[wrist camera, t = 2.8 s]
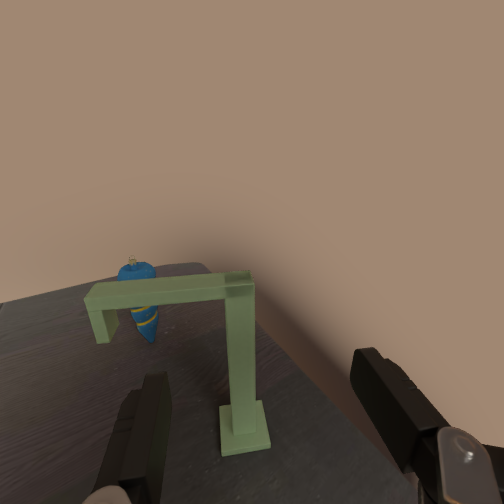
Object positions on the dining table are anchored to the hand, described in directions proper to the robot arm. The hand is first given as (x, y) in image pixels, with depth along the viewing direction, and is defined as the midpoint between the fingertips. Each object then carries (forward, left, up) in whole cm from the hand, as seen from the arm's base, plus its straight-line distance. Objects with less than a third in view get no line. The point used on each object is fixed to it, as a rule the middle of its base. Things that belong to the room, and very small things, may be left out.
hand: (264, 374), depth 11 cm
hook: (+11, -5, -20) cm, 23 cm away
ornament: (+28, -11, -20) cm, 36 cm away
